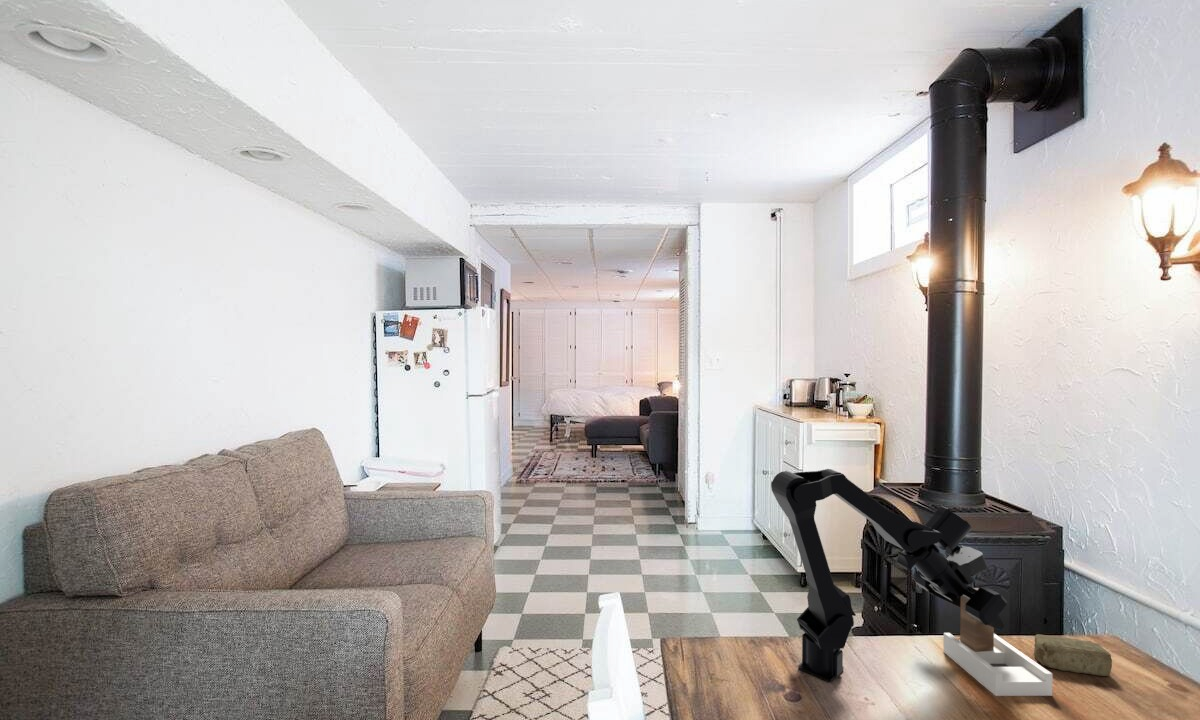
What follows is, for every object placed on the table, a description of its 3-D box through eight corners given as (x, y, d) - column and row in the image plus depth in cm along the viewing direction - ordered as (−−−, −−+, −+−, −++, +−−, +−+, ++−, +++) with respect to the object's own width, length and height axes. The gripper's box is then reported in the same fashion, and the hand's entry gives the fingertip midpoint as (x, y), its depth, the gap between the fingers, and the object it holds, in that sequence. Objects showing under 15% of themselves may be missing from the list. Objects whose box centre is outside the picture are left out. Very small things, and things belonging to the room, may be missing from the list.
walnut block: (975, 651, 112) (976, 597, 111) (960, 641, 115) (960, 588, 115) (993, 650, 112) (994, 596, 112) (977, 640, 116) (978, 587, 116)
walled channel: (995, 695, 101) (995, 673, 101) (943, 651, 116) (943, 632, 116) (1052, 695, 101) (1052, 673, 101) (992, 651, 116) (993, 632, 116)
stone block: (1114, 680, 107) (1114, 654, 107) (1042, 670, 110) (1042, 644, 110) (1097, 664, 112) (1097, 639, 112) (1029, 655, 116) (1029, 631, 116)
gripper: (998, 552, 104) (1050, 608, 105) (927, 522, 122) (972, 570, 124) (959, 597, 103) (1012, 652, 104) (893, 560, 121) (939, 607, 123)
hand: (982, 617), depth 114 cm, fingers open, 9 cm apart
